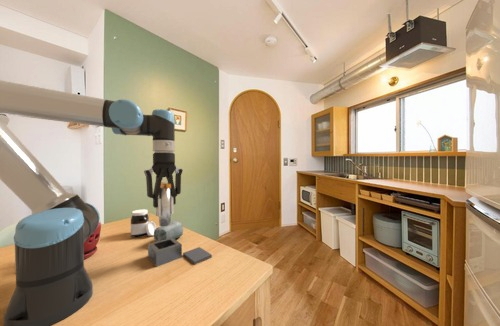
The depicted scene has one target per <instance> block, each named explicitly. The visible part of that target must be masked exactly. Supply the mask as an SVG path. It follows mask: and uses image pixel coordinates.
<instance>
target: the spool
mask: <svg viewBox="0 0 500 326" xmlns="http://www.w3.org/2000/svg"><path fill="white" fill-rule="evenodd" d="M183 234H184V228H183V224H182V223H181V222H180V221H178V220H173V221H172V220H171V224H170V225H168V226H159V227H157V228H156V229H155V230H154V235H153V238H154V242H157V241H161V240H164V239H168V238H171V237H172V238H174V239H175V240H176V239H177V238H180V237H182V236H183Z"/></svg>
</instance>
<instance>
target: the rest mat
mask: <svg viewBox="0 0 500 326" xmlns="http://www.w3.org/2000/svg"><path fill="white" fill-rule="evenodd" d="M182 257H184V258H186V259H187V260H188V261H189V262H190V263H192V264H193V265H197V264H199V263H202V262H205V261H206V260H210V259H211V258H212V257H213V255H212V254H211V253H210V252H208V251H206V250H205V249H204V248H202V247H200V246H198V247H196V248H193V249H191V250H187V251H185V252H182Z"/></svg>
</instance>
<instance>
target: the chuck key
mask: <svg viewBox="0 0 500 326" xmlns="http://www.w3.org/2000/svg"><path fill="white" fill-rule="evenodd" d="M170 188H171V184H169V183H168V182H163V181H161V186H160V191H159V197H158V198H160V199H161V217H158V218H159V219H158V223H159V227H160V226H168V225H170V224H171V222H172V214H171V192H170Z"/></svg>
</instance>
